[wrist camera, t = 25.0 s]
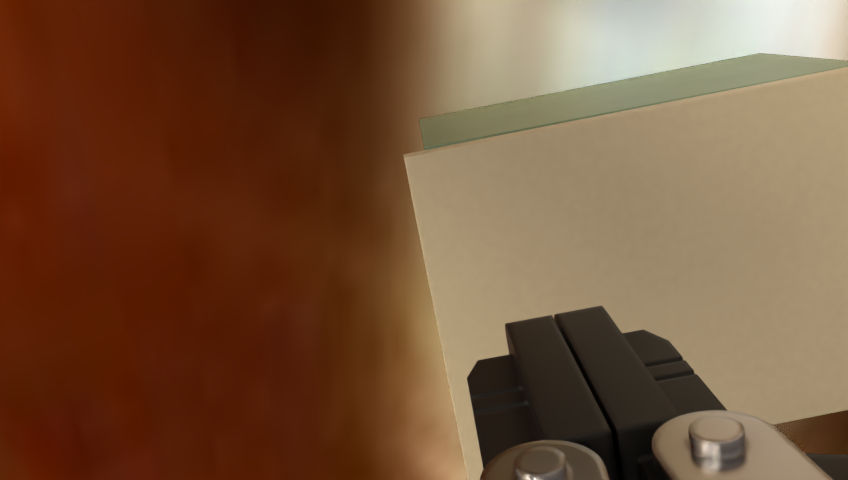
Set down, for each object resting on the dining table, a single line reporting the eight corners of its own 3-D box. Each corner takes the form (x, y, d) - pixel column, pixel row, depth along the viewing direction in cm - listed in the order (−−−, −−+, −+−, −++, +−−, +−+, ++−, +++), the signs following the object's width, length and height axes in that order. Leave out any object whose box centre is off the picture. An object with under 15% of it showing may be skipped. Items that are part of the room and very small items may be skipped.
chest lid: (466, 475, 32) (469, 486, 31) (403, 154, 28) (403, 157, 28) (877, 393, 32) (890, 402, 32) (868, 62, 29) (881, 63, 28)
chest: (467, 372, 41) (484, 464, 33) (418, 118, 38) (424, 147, 29) (778, 315, 41) (877, 392, 32) (760, 52, 37) (867, 62, 29)
